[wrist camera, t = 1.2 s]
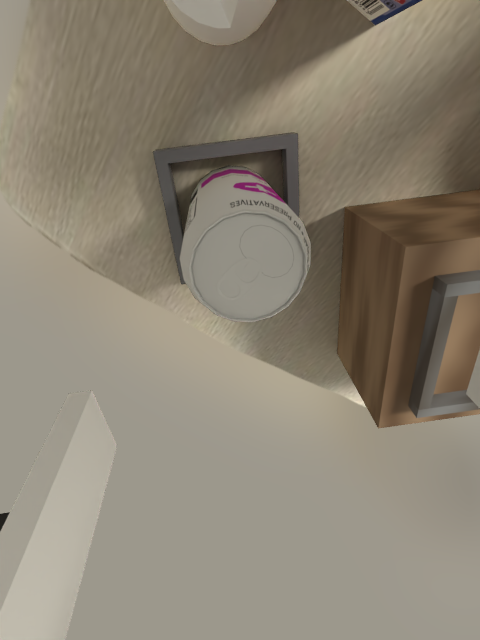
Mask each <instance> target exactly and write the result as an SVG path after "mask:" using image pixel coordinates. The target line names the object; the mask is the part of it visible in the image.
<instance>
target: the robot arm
mask: <svg viewBox="0 0 480 640" xmlns="http://www.w3.org/2000/svg"><path fill="white" fill-rule="evenodd" d="M466 394H467V395H468V397H469V398H470V399H471V400H472V401H473V402H474V403H475V404H476V405H477V406H478V407H479V408H480V350H479V353H478V356H477V360H476V363H475V366H474V369H473V373H472V376H471V379H470V382H469V386H468V389H467V392H466ZM116 448H117V445H116V443H115V440H114V438H113V436H112V433H111V431H110V429H109V427H108V425H107V423H106V420H105V418H104V416H103V414H102V412H101V409H100V407H99V405H98V403H97V400H96V398H95V396H94V394H93V392H92V390H90V391H83V392H77V393H70V394H68V396H67V398H66V400H65V402H64V404H63V406H62V408H61V410H60V412H59V414H58V416H57V418H56V420H55V422H54V424H53V426H52V428H51V430H50V432H49V434H48V436H47V439H46V440H45V443H44V444H43V446H42V448H41V451H40V452H39V455H38V457H37V459H36V461H35V463H34V465H33V467H32V469H31V471H30V473H29V475H28V477H27V479H26V481H25V483H24V485H23V487H22V489H21V491H20V493H19V495H18V497H17V499H16V501H15V503H14V506H13V507H12V509H11V511H10V512H9V513H3V514H0V640H65V639H66V635H67V631H68V628H69V624H70V620H71V617H72V613H73V609H74V605H75V602H76V598H77V594H78V590H79V587H80V583H81V579H82V575H83V572H84V568H85V564H86V560H87V556H88V553H89V549H90V545H91V541H92V538H93V534H94V530H95V527H96V523H97V519H98V516H99V512H100V508H101V504H102V501H103V497H104V493H105V489H106V486H107V481H108V478H109V474H110V471H111V467H112V463H113V459H114V456H115V452H116Z"/></svg>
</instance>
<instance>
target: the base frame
mask: <svg viewBox="0 0 480 640" xmlns="http://www.w3.org/2000/svg"><path fill="white" fill-rule="evenodd" d="M279 149H282V164H283V190H284V202H285V203H286V204H287V205H288V206H289V207H290V209H291V210H292V211H293V212H294V213H295V214H296V215H297V216H298V217H299V171H298V134H297V133H286V134H278V135H270V136H262V137H254V138H246V139H238V140H230V141H222V142H214V143H206V144H198V145H190V146H182V147H174V148H166V149H158V150H155V151H153V154H154V159H155V164H156V168H157V173H158V178H159V182H160V187H161V192H162V196H163V201H164V206H165V210H166V215H167V220H168V224H169V229H170V234H171V238H172V243H173V248H174V252H175V257H176V262H177V266H178V271H179V276H180V280H181V284H186V283H185V281H184V279H183V274H182V269H181V263H180V254H181V248H182V243H183V238H184V231H183V226H182V221H181V216H180V210H179V205H178V200H177V195H176V190H175V185H174V179H173V174H172V169H171V164H170V163H176V162H184V161H192V160H200V159H208V158H216V157H224V156H232V155H240V154H248V153H256V152H263V151H271V150H279Z"/></svg>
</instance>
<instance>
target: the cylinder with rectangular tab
mask: <svg viewBox="0 0 480 640" xmlns="http://www.w3.org/2000/svg"><path fill="white" fill-rule="evenodd" d="M276 1H277V0H164V2H165V4H166V5H167V7H168V9H169V11H170V13H171V14H172V16H173V18H174V19H175V20H176V21H177V22H178V23H179V25H180V26H181V27H182V28H183V29H184V30H185V31H186V32H187V33H189V34H190V35H192V36H193V37H195V38H196V39H198V40H199V41H202V42H205V43H208V44H212V45H215V46H216V45H232V44H234V43H237V42H239V41H242V40H245V39H246V38H247V37H249V36H250V35H251V34H252V33H254V32H255V31H256V30H257V29H258V28H259V27H260V25H261V24H262V23H263V21H264V20H265V19H266V17H267V16H268V15H269V13H270V11H271V10H272V8H273V6H274V5H275V3H276Z"/></svg>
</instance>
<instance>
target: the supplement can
mask: <svg viewBox="0 0 480 640" xmlns="http://www.w3.org/2000/svg"><path fill="white" fill-rule="evenodd" d="M180 263H181V269H182V274H183V279H184V281H185V283H186V285H187V286H188V288H189V289H190V291H191V293H192V294H193V296H194V298H195V299H197V300H198V301H199V302H200V303H202V304H203V305H204V306H206V307H207V308H208V309H209V310H211V311H212V312H213V313H214V314H216V315H217V316H220V317H223V318H226V319H229V320H231V321H234V322H255V321H259V320H263V319H266V318H270V317H273V316H274V315H276V314H277V313H279V312H280V311H282V310H284V309H285V308H287V307H288V306H289V305H290V304H291V302H292V301H293V300H294V299H295V298H296V296H297V295H298V294H299V293H300V291H301V289H302V286H303V284H304V281H305V278H306V276H307V273H308V271H309V268H310V265H311V242H310V240H309V237H308V234H307V231H306V229H305V226H304V223H303V222H302V221H301V220H300V218H299V217H298V216H297V215H296V214H295V213H294V212H293V211H292V210H291V209H290V207H289V206H288V205H287V204H286V203H285V202H284V201H283V200H282V199H281V198H280V196H279V195H278V194H277V193H276V192H275V191H274V190H273V189H272V188H271V187H270V185H269V184H268V183H267V182H266V181H265V180H264V179H263V178H262V177H261V176H260V175H259V174H258V173H256V172H254V171H252V170H250V169H248V168H246V167H242V166H229V165H228V166H225V167H222V168H218V169H215V170H212V171H211V172H210V173H209V174H207V175H206V176H205V177H204V178H202V179H201V180H200V181H199V183H198V185H197V186H196V188H195V190H194V191H193V193H192V196H191V201H190V206H189V212H188V217H187V222H186V227H185V232H184V238H183V243H182V248H181V254H180Z"/></svg>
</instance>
